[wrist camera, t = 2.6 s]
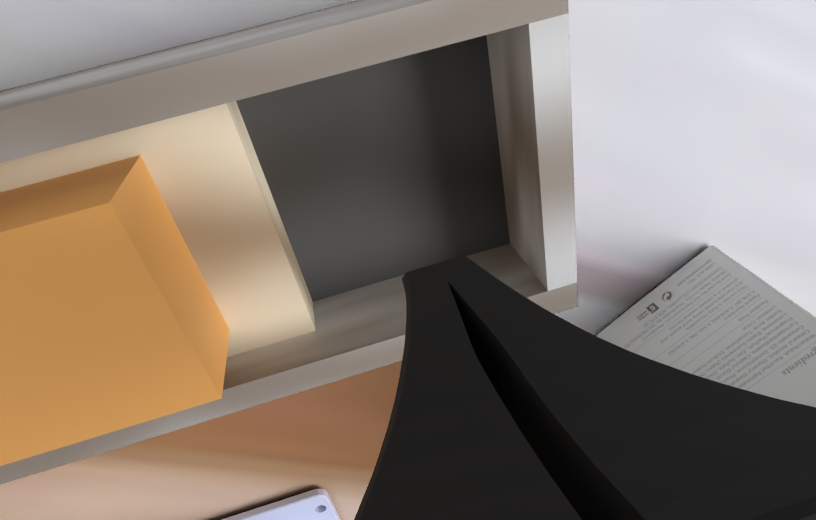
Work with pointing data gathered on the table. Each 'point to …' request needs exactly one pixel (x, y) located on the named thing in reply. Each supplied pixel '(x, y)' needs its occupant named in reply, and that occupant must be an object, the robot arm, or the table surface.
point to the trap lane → (328, 175)
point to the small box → (724, 329)
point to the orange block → (99, 311)
